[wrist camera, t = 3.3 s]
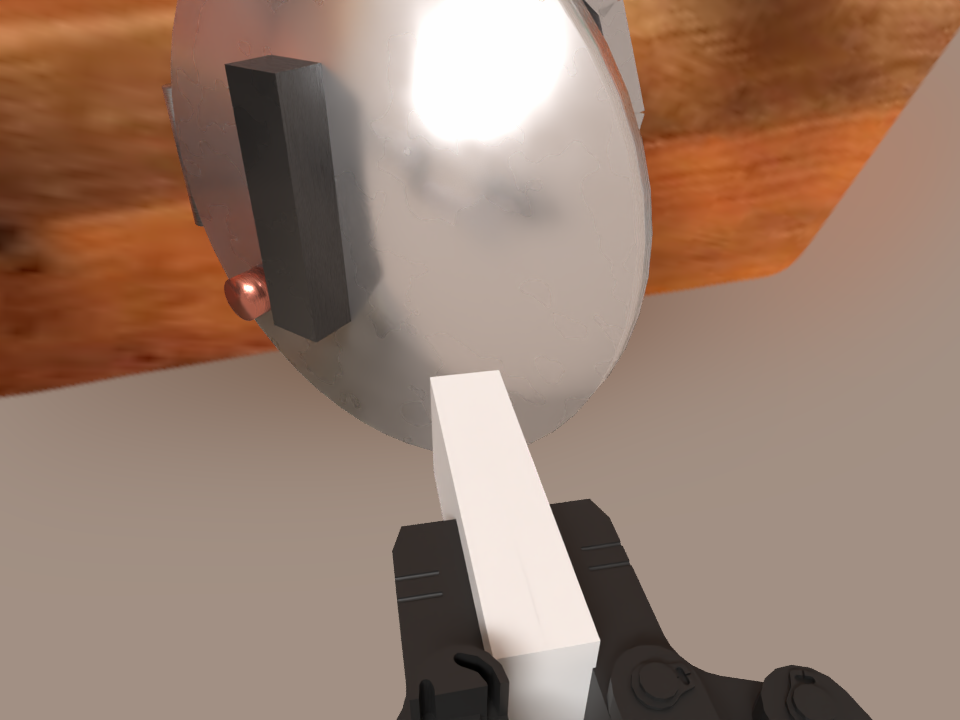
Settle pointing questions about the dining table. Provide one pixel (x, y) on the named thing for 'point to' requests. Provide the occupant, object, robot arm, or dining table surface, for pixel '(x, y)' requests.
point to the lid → (418, 194)
